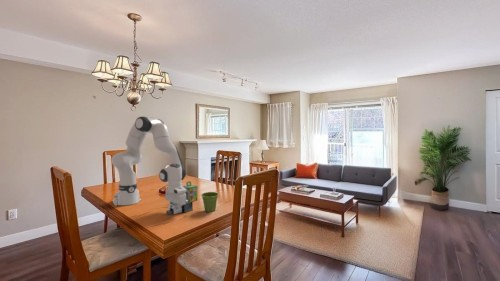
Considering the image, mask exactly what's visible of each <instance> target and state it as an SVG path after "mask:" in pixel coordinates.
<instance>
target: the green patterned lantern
mask: <svg viewBox="0 0 500 281" xmlns="http://www.w3.org/2000/svg"><path fill="white" fill-rule="evenodd" d="M182 186H183V187H184V188H185V189H186V192H185V193H186V199H187V200H189V201H192V202H195V201H198V186H197V185H194V184H192V181H191V180H190V181H187V182H186V185H182Z"/></svg>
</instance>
